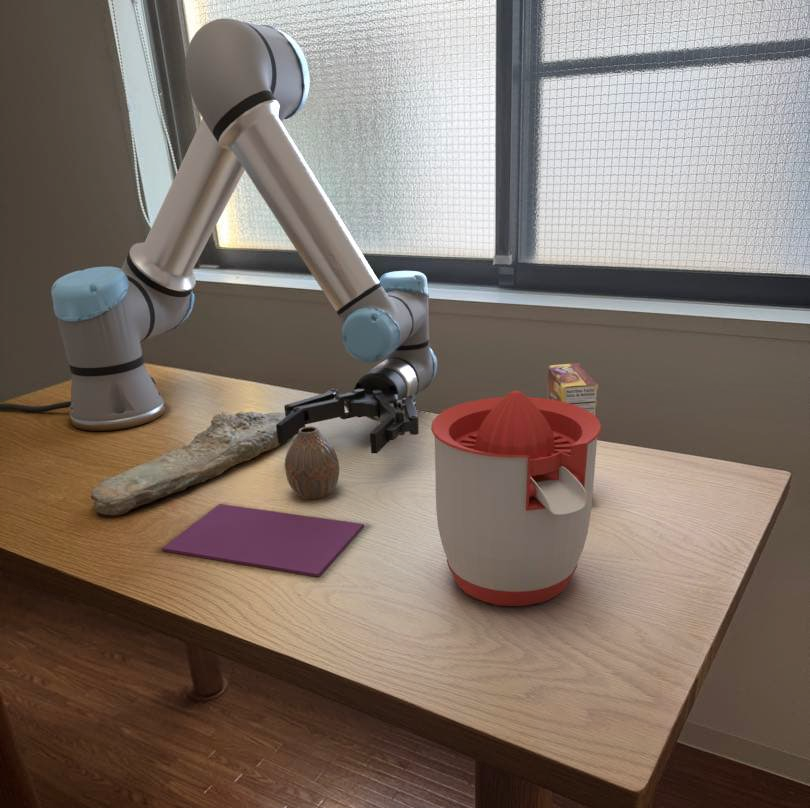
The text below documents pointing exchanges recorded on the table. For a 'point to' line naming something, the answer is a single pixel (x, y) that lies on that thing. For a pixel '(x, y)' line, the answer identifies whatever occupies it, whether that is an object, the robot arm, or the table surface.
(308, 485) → the vase
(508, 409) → the citrus juicer
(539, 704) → the table surface
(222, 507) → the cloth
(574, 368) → the candy box
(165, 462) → the long grey stone
